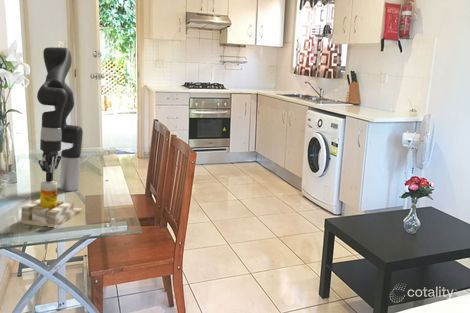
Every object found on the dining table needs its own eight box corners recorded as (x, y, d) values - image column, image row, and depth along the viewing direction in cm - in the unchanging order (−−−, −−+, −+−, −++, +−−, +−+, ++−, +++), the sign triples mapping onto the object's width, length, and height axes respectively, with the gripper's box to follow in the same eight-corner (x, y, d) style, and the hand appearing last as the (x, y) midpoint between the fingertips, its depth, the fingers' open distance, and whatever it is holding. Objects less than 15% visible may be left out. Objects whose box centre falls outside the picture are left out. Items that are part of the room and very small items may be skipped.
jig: (52, 207, 181) (52, 193, 180) (82, 211, 180) (82, 197, 178) (21, 223, 159) (21, 207, 158) (54, 228, 158) (55, 212, 157)
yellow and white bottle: (50, 220, 162) (51, 183, 159) (36, 217, 163) (37, 181, 160) (59, 215, 168) (60, 180, 165) (46, 213, 169) (47, 178, 166)
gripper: (51, 135, 167) (49, 176, 170) (32, 139, 154) (30, 183, 157) (68, 137, 166) (66, 178, 169) (50, 141, 153) (49, 186, 156)
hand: (49, 180), depth 163 cm, fingers closed
